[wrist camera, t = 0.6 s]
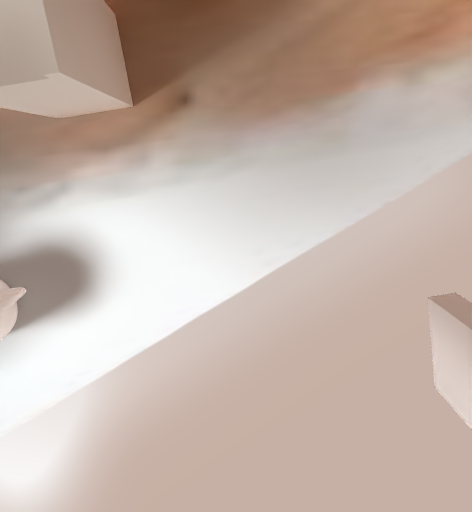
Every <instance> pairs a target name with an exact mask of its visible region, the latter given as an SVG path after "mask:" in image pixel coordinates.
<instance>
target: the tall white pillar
mask: <svg viewBox="0 0 472 512" xmlns="http://www.w3.org/2000/svg"><path fill="white" fill-rule="evenodd" d="M128 107H133V102H132V97H131V92H130V87H129V82H128V77H127V72H126V66H125V61H124V56H123V51H122V46H121V41H120V36H119V31H118V26H117V21H116V16H115V13H114V12H113V11H112V10H111V9H110V8H109V6H108V5H107V4H106V3H105V2H104V0H0V108H6V109H11V110H16V111H21V112H26V113H32V114H37V115H42V116H47V117H53V118H58V119H61V118H67V117H73V116H79V115H85V114H91V113H98V112H104V111H110V110H116V109H122V108H128Z"/></svg>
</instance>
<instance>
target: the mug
mask: <svg viewBox="0 0 472 512" xmlns="http://www.w3.org/2000/svg"><path fill="white" fill-rule="evenodd" d="M25 293H26V289H25V288H23V287H16V288H9V286H8V285H7V284H6V283H5V282H3V281H2V280H1V279H0V340H1V339H3V338H4V337H5V336H6V335H7V334H8V333H9V332H10V331H11V329H12V328H13V326H14V324H15V322H16V320H17V315H18V306H17V300H18V299H20V298H21V297H22V296H23V295H24V294H25Z"/></svg>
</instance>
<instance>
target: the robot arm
mask: <svg viewBox="0 0 472 512" xmlns="http://www.w3.org/2000/svg"><path fill="white" fill-rule="evenodd" d="M428 306H429V318H430V332H431V345H432V358H433V369H434V370H433V371H434V384H435V388H436V389H437V390H438V391H439V392H440V394H441V395H442V396H443V397H444V398H445V399H446V401H447V402H448V403H449V404H450V405H451V406H452V408H453V409H454V410H455V411H456V412H457V413H458V414H459V415H460V417H461V418H462V419H463V420H464V421H465V423H466V424H467V425H468V426H469V427H470V428H471V429H472V303H471V302H469V301H468V300H466V299H465V298H463V297H461V296H460V295H458V294H457V293H451V294H445V295H440V296H433V297H428Z"/></svg>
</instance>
